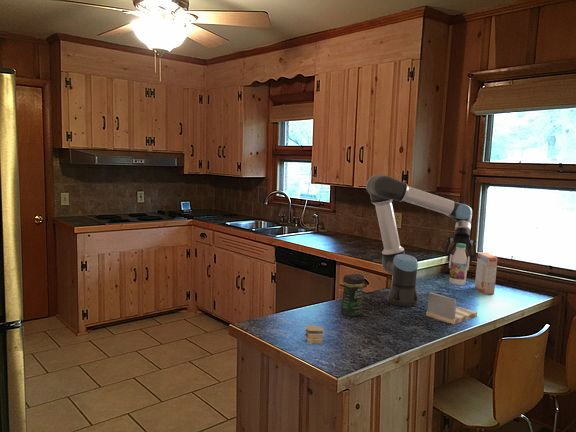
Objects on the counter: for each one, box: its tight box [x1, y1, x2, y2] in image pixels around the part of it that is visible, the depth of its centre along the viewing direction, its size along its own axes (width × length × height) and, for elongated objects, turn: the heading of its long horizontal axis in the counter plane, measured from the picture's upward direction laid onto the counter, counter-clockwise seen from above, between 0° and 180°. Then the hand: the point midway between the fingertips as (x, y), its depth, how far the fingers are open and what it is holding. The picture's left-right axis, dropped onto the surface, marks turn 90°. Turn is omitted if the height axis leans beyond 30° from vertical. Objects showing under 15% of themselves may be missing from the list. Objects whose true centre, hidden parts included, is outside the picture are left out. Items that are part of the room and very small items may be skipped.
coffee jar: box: [340, 273, 365, 317], centre depth 213 cm, size 10×8×19 cm
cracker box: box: [474, 252, 499, 295], centre depth 264 cm, size 14×6×21 cm, turn 179°
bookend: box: [427, 291, 457, 320], centre depth 211 cm, size 2×13×9 cm, turn 40°
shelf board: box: [425, 305, 478, 325], centre depth 217 cm, size 20×14×2 cm
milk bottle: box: [448, 243, 468, 286], centre depth 233 cm, size 8×8×20 cm
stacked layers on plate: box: [304, 324, 324, 345], centre depth 180 cm, size 10×9×6 cm
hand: (458, 267), depth 230 cm, fingers closed on milk bottle, 8 cm apart
